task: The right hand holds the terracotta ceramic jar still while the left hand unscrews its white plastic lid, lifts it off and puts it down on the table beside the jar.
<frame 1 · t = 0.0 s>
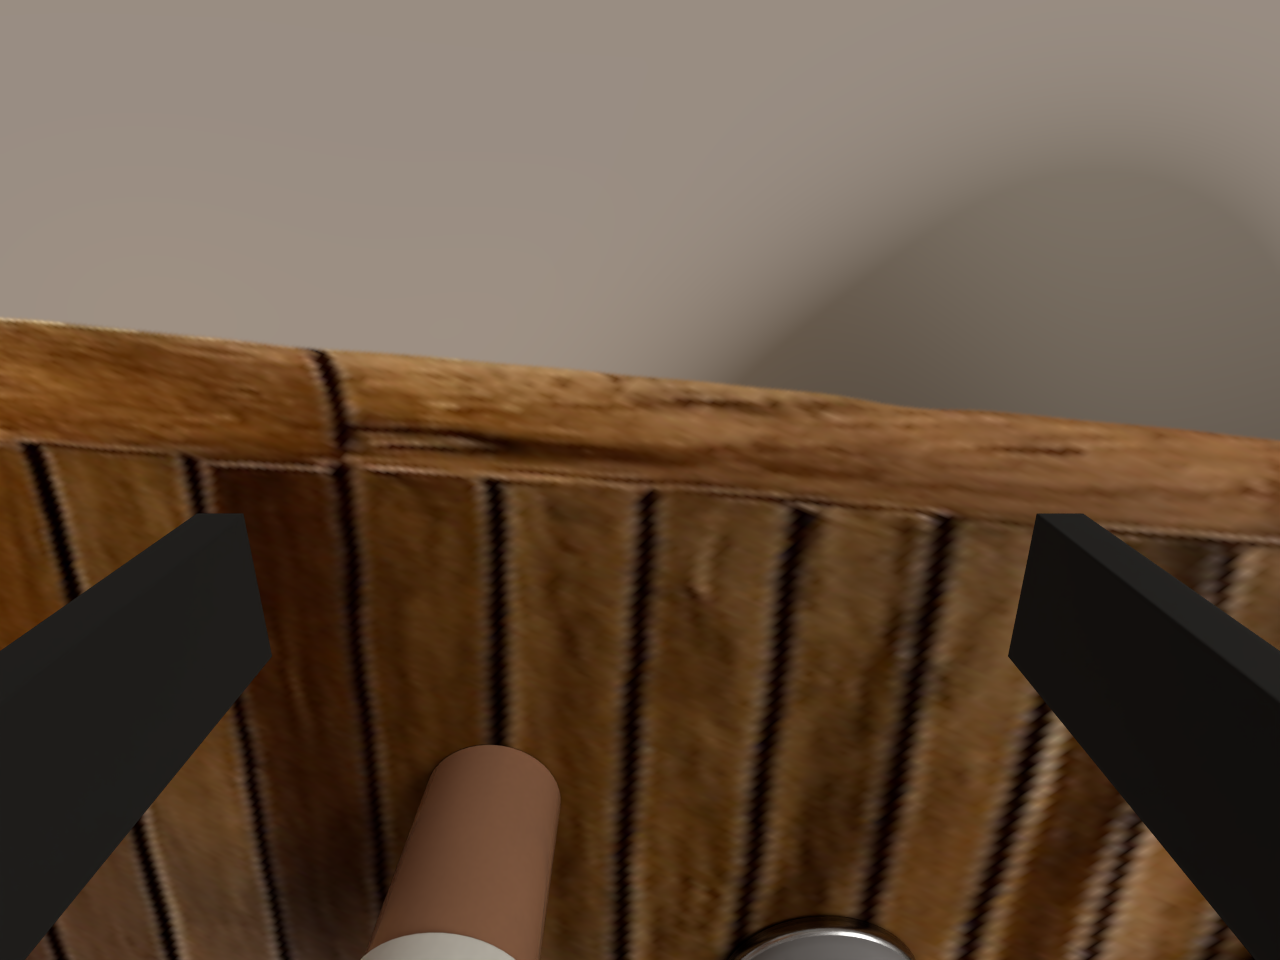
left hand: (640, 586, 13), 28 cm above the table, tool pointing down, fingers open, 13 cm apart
jar: (493, 798, 50), on the table
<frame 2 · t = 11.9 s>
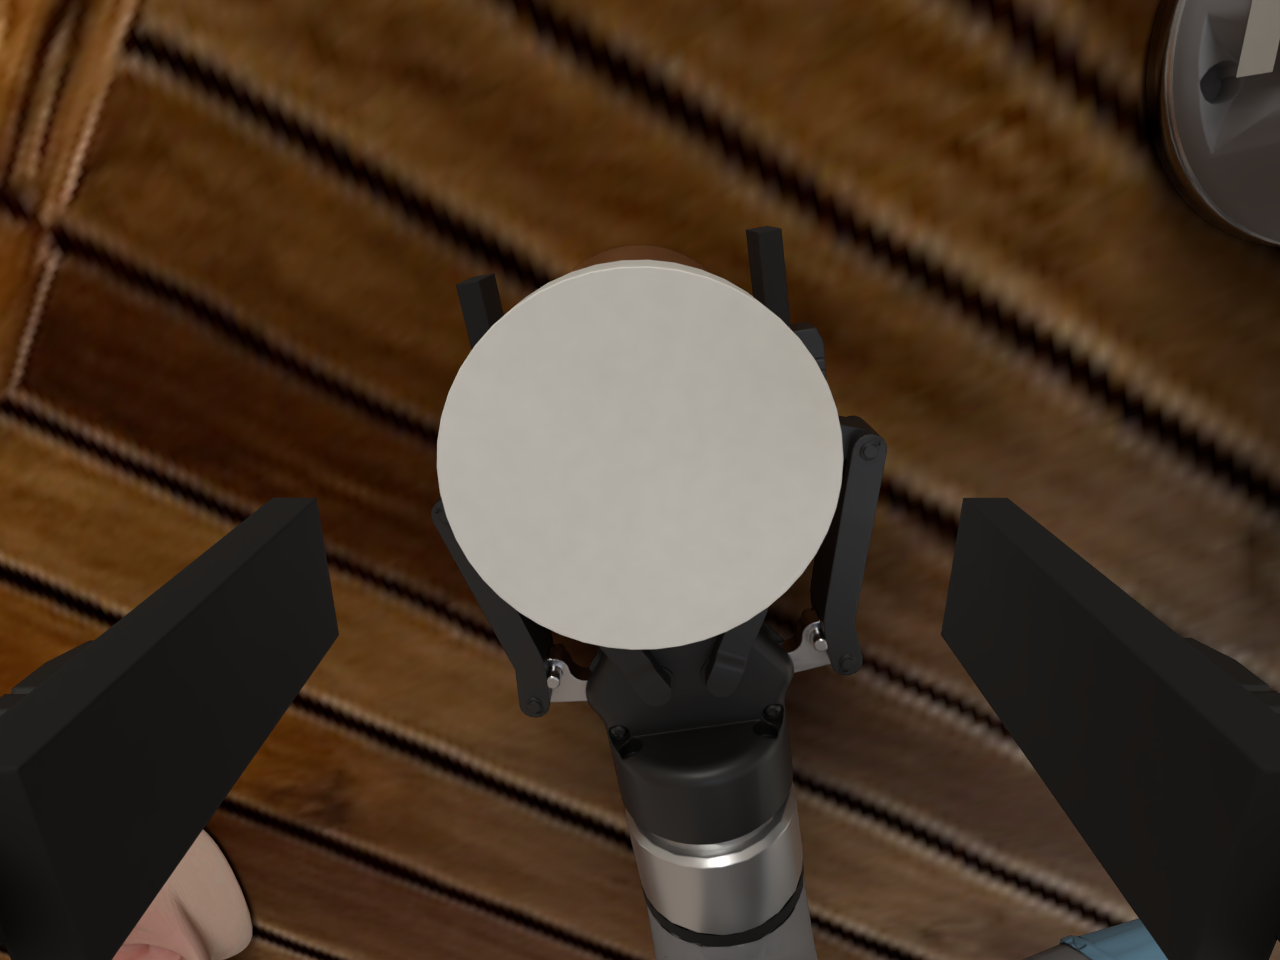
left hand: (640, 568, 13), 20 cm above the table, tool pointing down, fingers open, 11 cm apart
right hand: (617, 254, 25), fingers closed on jar, 9 cm apart
jar: (640, 353, 32), on the table, touching right hand
lid: (640, 471, 18), point 15 cm above the table, screwed on, not yet turned
anatomical model: (144, 876, 43), on the table
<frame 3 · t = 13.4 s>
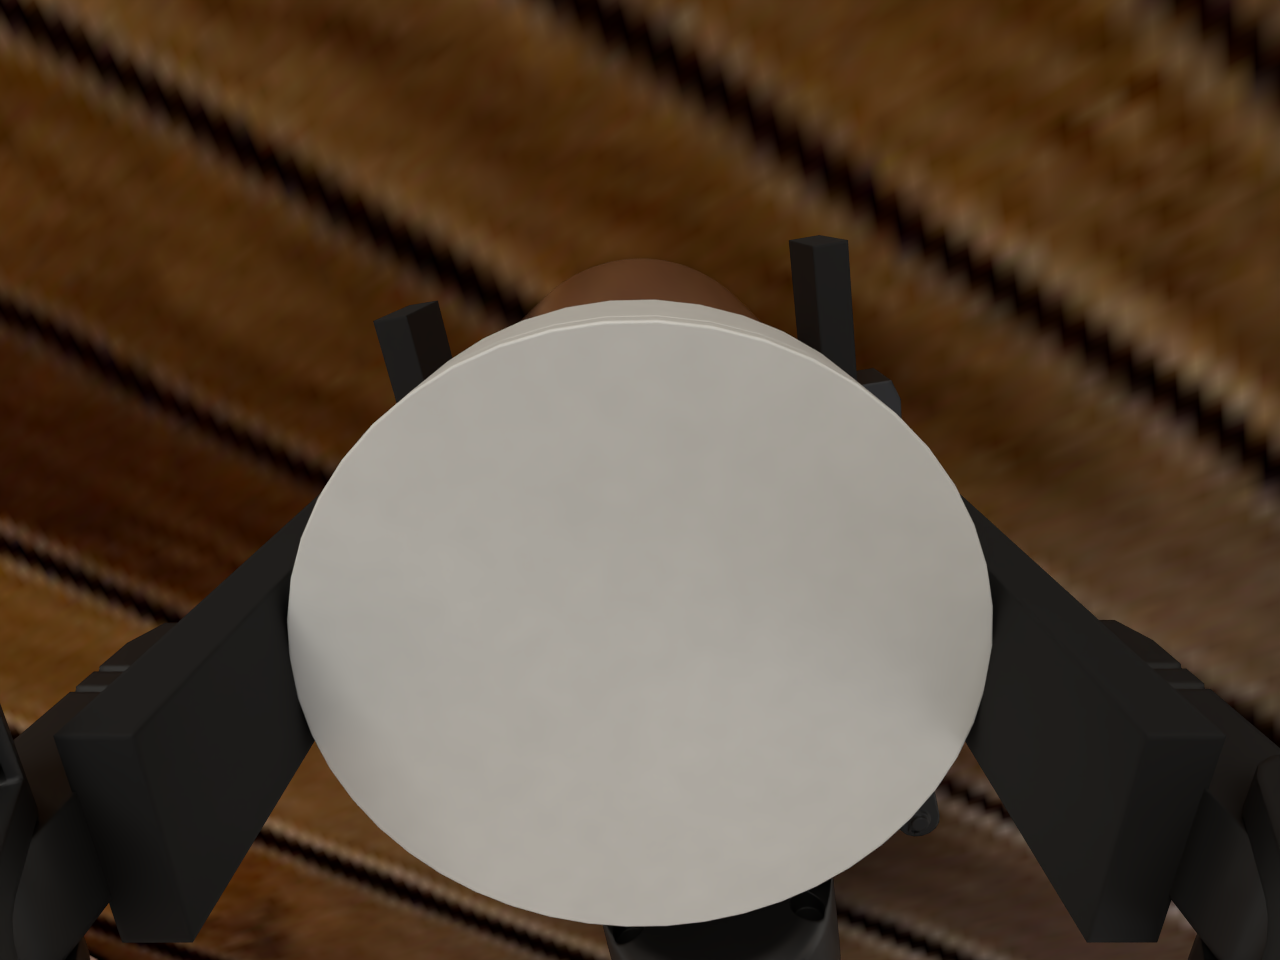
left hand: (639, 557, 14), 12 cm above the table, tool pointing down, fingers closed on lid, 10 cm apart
jar: (640, 398, 25), on the table, touching right hand
lid: (640, 659, 11), point 15 cm above the table, screwed on, not yet turned, touching left hand
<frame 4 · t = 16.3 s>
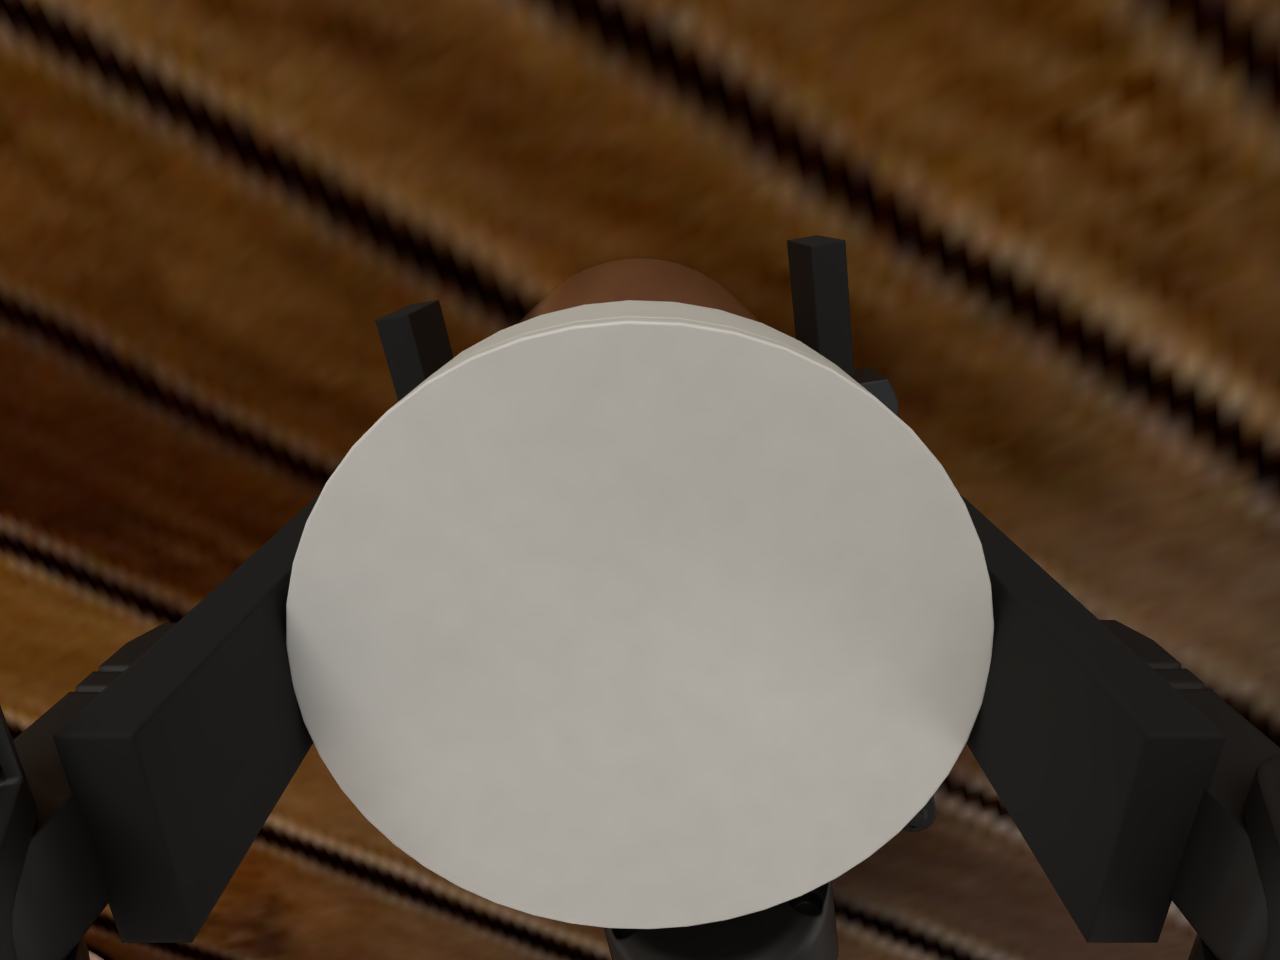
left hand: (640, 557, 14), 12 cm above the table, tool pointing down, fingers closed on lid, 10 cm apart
jar: (639, 397, 25), on the table, touching right hand
lid: (639, 660, 11), point 15 cm above the table, turned 64° so far, risen 0.2 cm, still on its thread, touching left hand
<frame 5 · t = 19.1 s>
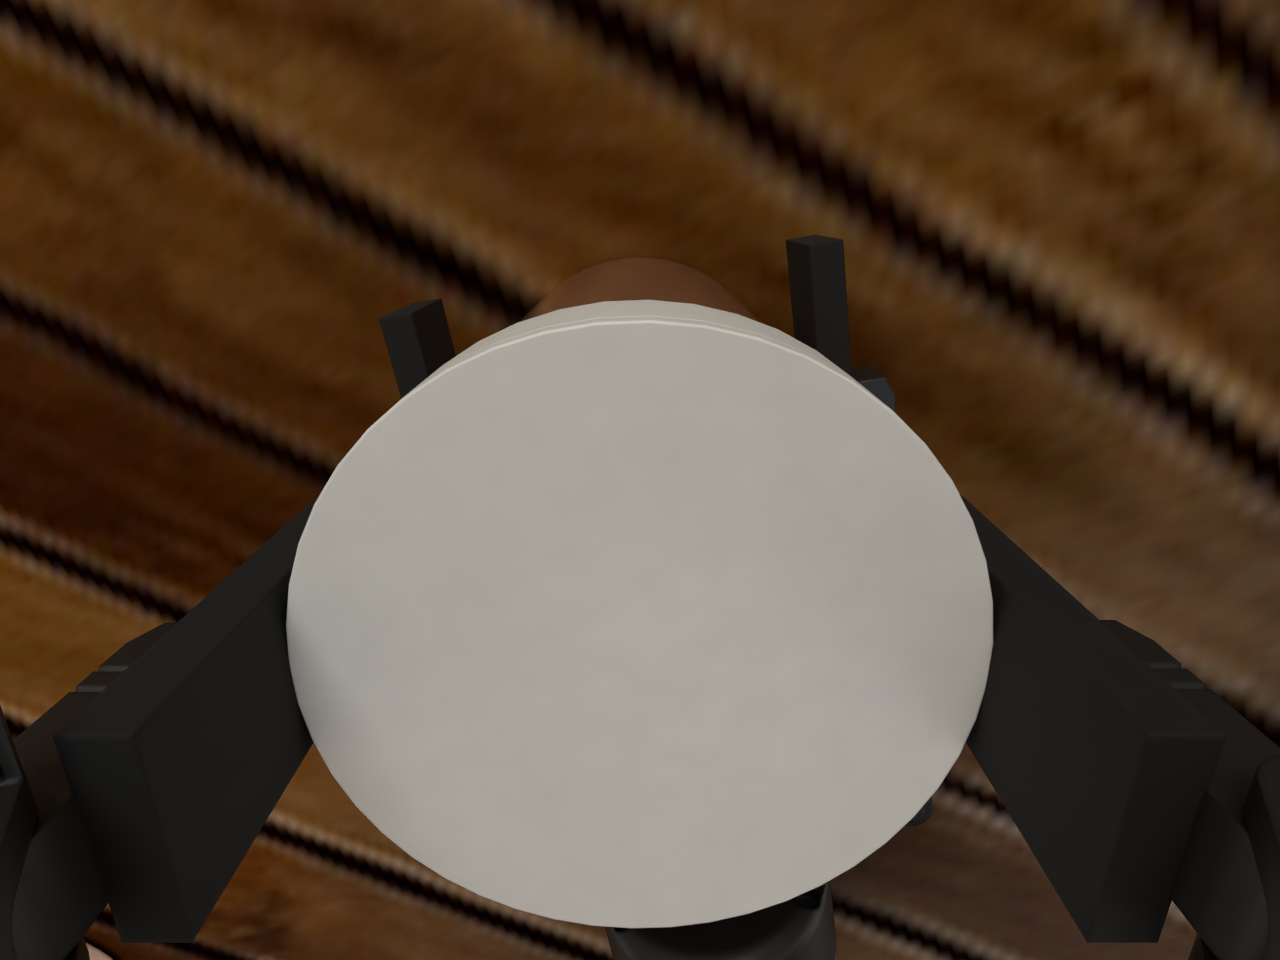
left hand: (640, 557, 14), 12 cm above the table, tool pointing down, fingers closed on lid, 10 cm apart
jar: (639, 395, 25), on the table, touching right hand
lid: (639, 660, 11), point 16 cm above the table, turned 129° so far, risen 0.4 cm, still on its thread, touching left hand
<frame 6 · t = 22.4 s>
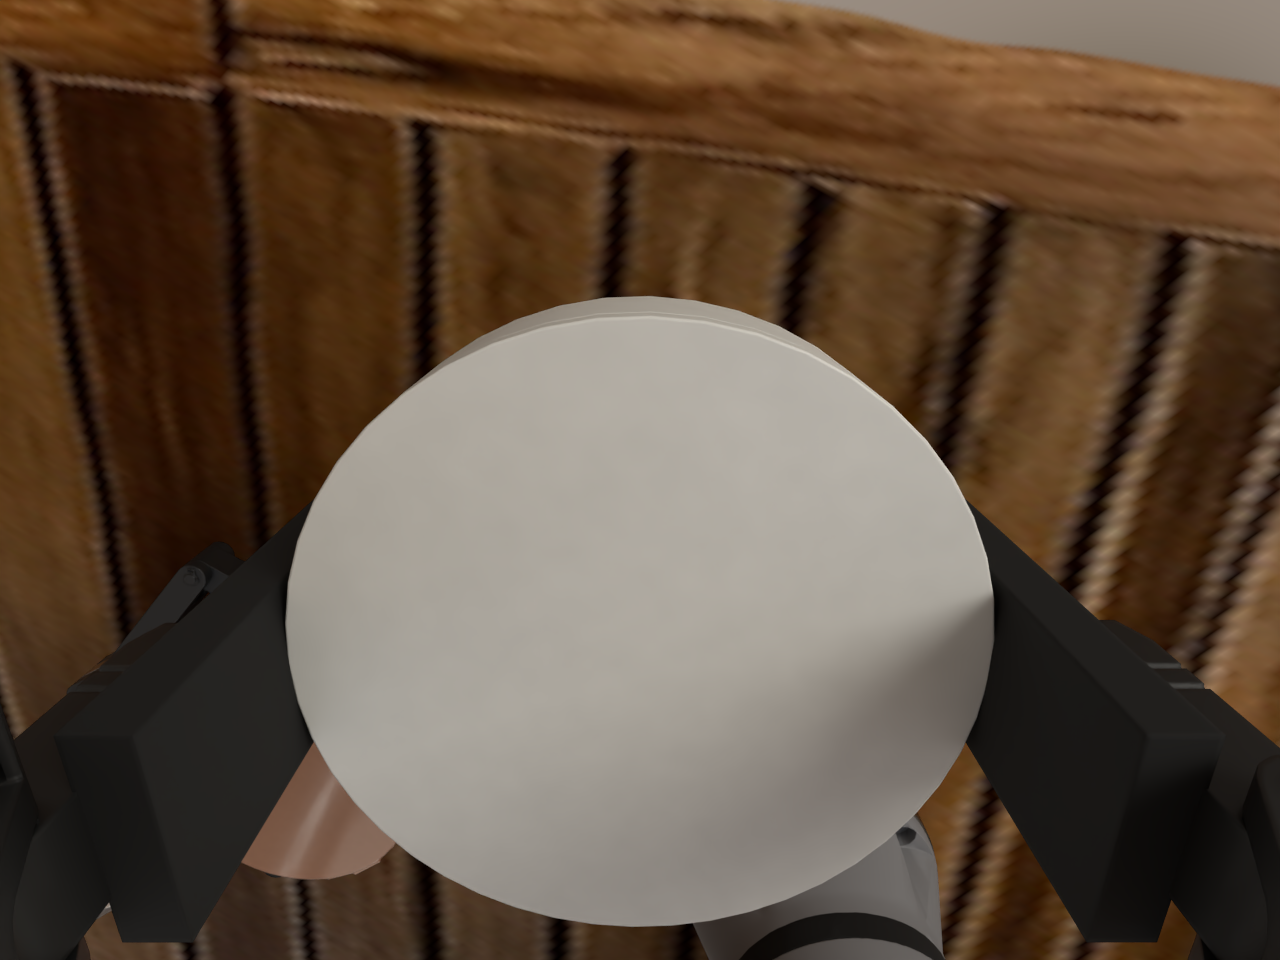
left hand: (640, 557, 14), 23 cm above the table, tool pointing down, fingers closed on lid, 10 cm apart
jar: (416, 586, 40), on the table, touching right hand
lid: (640, 657, 11), point 27 cm above the table, off its thread, touching left hand
when the left hand's fingers open (0 cm above the table, at t = 25.8 s): lid drops 2 cm, point 2 cm above the table.
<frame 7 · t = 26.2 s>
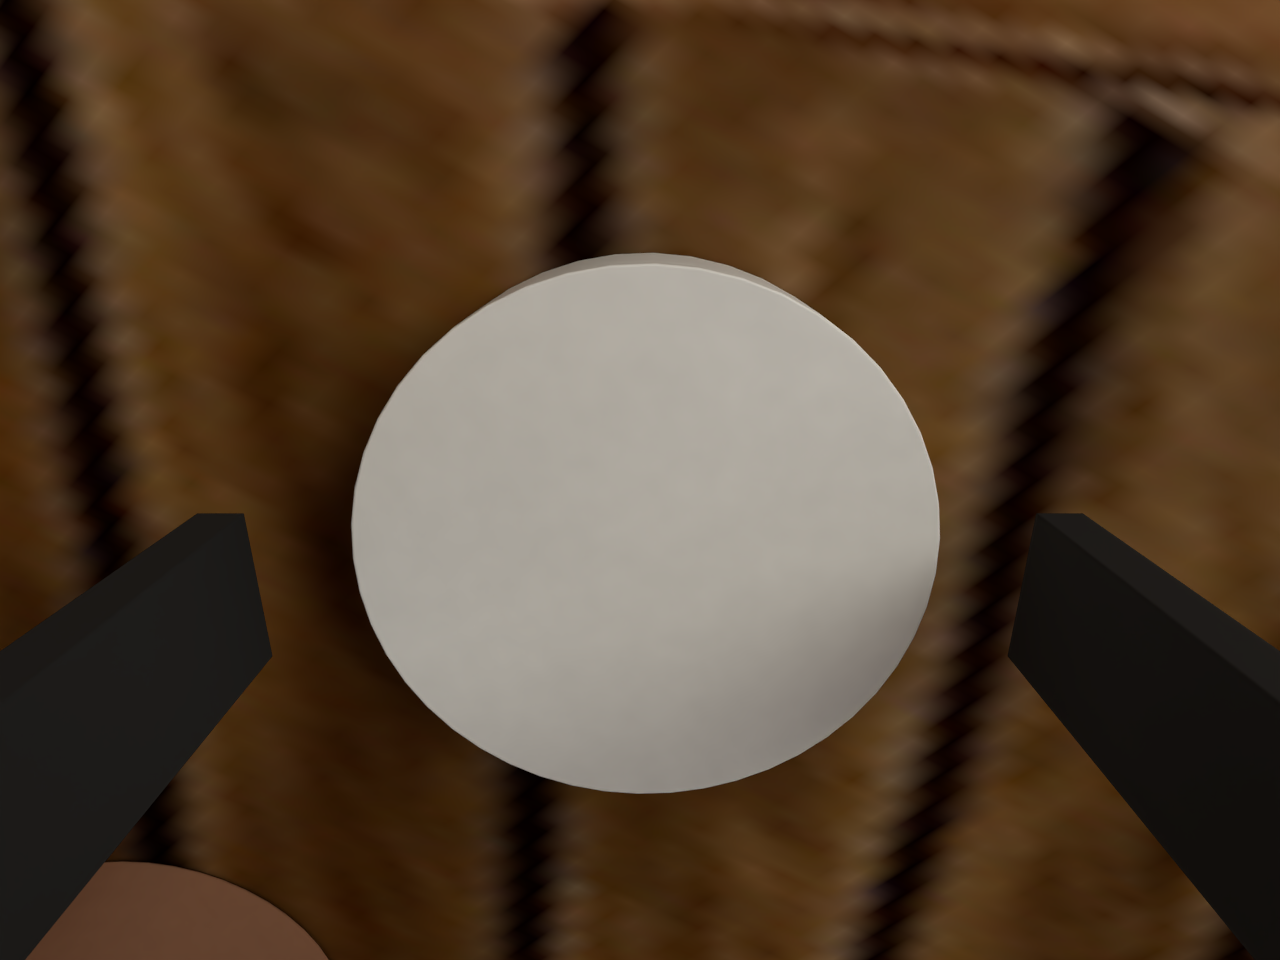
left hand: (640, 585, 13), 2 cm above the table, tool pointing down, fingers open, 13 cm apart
lid: (645, 556, 13), point 2 cm above the table, off its thread
when the right hand's fingers open (6 cm above the table, at t = 26.8 s): jar stays where it is, on the table.
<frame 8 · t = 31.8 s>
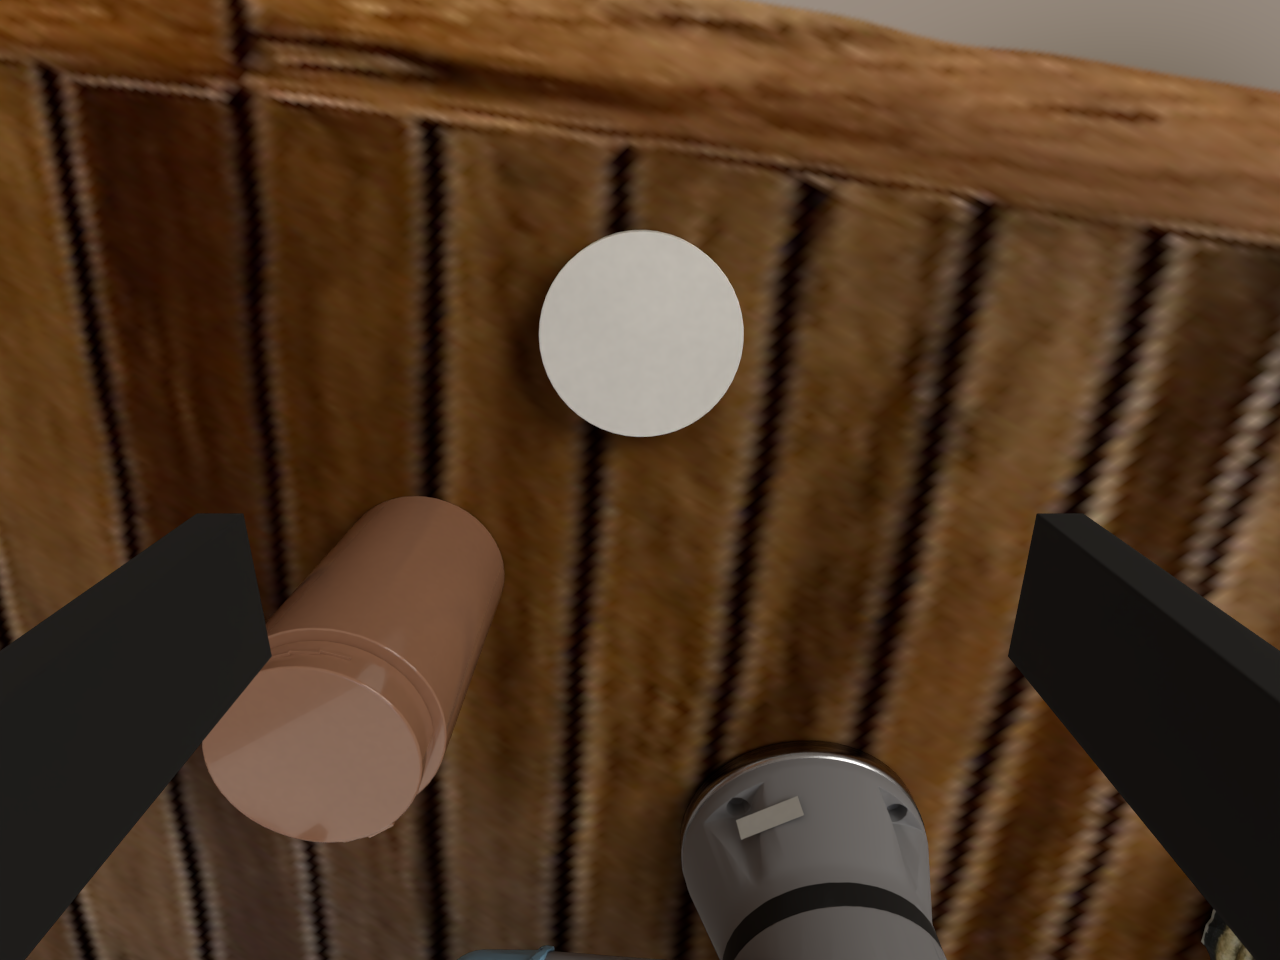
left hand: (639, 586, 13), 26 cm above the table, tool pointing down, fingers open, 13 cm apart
jar: (424, 570, 41), on the table
lid: (641, 337, 35), point 2 cm above the table, off its thread
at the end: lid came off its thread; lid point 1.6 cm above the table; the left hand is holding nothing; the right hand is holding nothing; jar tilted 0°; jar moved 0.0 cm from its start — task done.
